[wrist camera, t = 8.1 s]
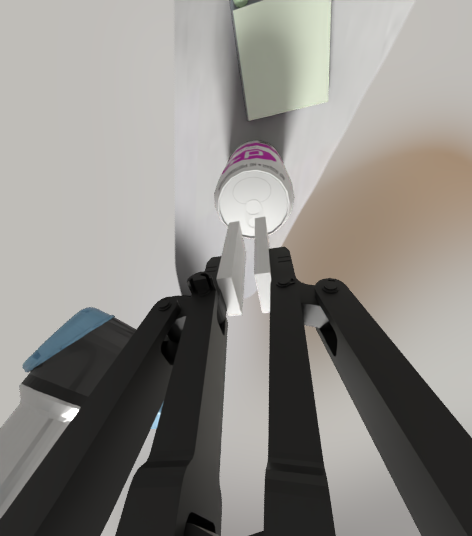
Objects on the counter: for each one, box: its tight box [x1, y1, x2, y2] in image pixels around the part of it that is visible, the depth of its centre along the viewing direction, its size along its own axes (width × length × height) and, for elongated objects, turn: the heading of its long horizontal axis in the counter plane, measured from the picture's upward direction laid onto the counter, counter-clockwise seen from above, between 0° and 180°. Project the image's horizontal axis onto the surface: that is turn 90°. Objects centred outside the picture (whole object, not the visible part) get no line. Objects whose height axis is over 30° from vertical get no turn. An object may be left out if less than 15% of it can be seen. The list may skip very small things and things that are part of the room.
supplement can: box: [214, 140, 294, 239], centre depth 27 cm, size 8×8×15 cm
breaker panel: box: [229, 0, 331, 121], centre depth 23 cm, size 10×14×4 cm
